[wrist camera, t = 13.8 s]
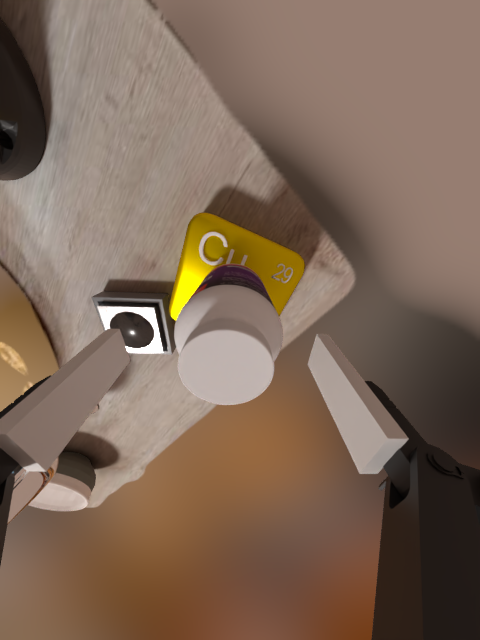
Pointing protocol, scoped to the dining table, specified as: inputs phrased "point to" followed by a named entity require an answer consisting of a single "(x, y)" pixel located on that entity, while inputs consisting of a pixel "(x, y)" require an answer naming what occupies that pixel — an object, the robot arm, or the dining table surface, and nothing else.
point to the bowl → (68, 485)
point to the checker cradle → (143, 298)
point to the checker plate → (135, 324)
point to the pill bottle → (228, 337)
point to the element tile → (233, 260)
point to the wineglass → (30, 485)
